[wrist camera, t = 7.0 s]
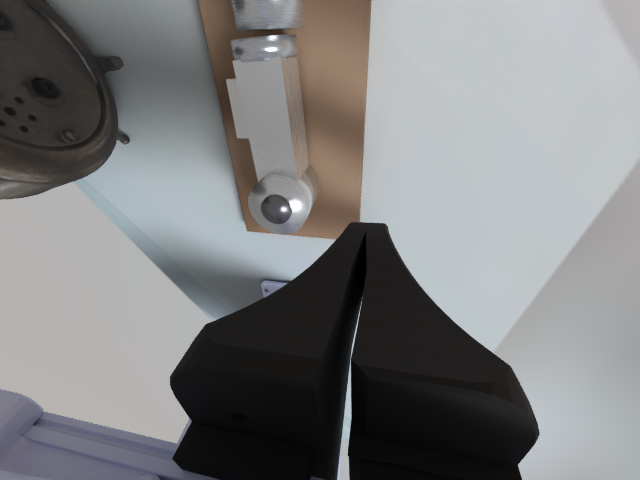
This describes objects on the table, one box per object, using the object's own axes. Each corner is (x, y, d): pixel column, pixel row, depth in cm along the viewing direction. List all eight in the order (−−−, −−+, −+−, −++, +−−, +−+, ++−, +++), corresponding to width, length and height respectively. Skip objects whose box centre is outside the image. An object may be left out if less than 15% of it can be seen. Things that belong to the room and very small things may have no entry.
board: (358, 234, 22) (357, 241, 21) (251, 224, 24) (246, 231, 23) (375, -85, 13) (374, -94, 12) (195, -62, 14) (182, -69, 14)
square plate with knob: (338, 130, 17) (321, 157, 13) (246, 128, 18) (205, 153, 14) (338, -89, 12) (312, -153, 8) (212, -73, 13) (133, -122, 9)
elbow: (322, 207, 20) (308, 238, 17) (274, 206, 21) (253, 235, 18) (307, 34, 15) (283, 32, 12) (243, 41, 16) (204, 41, 12)
